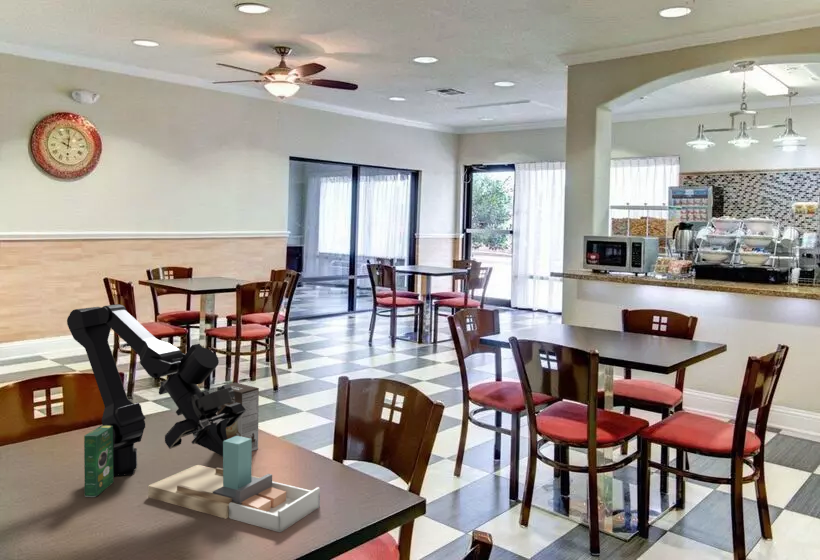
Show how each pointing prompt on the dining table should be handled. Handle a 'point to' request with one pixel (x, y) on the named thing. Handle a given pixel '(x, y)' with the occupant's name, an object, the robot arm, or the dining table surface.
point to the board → (194, 490)
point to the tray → (279, 509)
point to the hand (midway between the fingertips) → (228, 456)
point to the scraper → (240, 471)
